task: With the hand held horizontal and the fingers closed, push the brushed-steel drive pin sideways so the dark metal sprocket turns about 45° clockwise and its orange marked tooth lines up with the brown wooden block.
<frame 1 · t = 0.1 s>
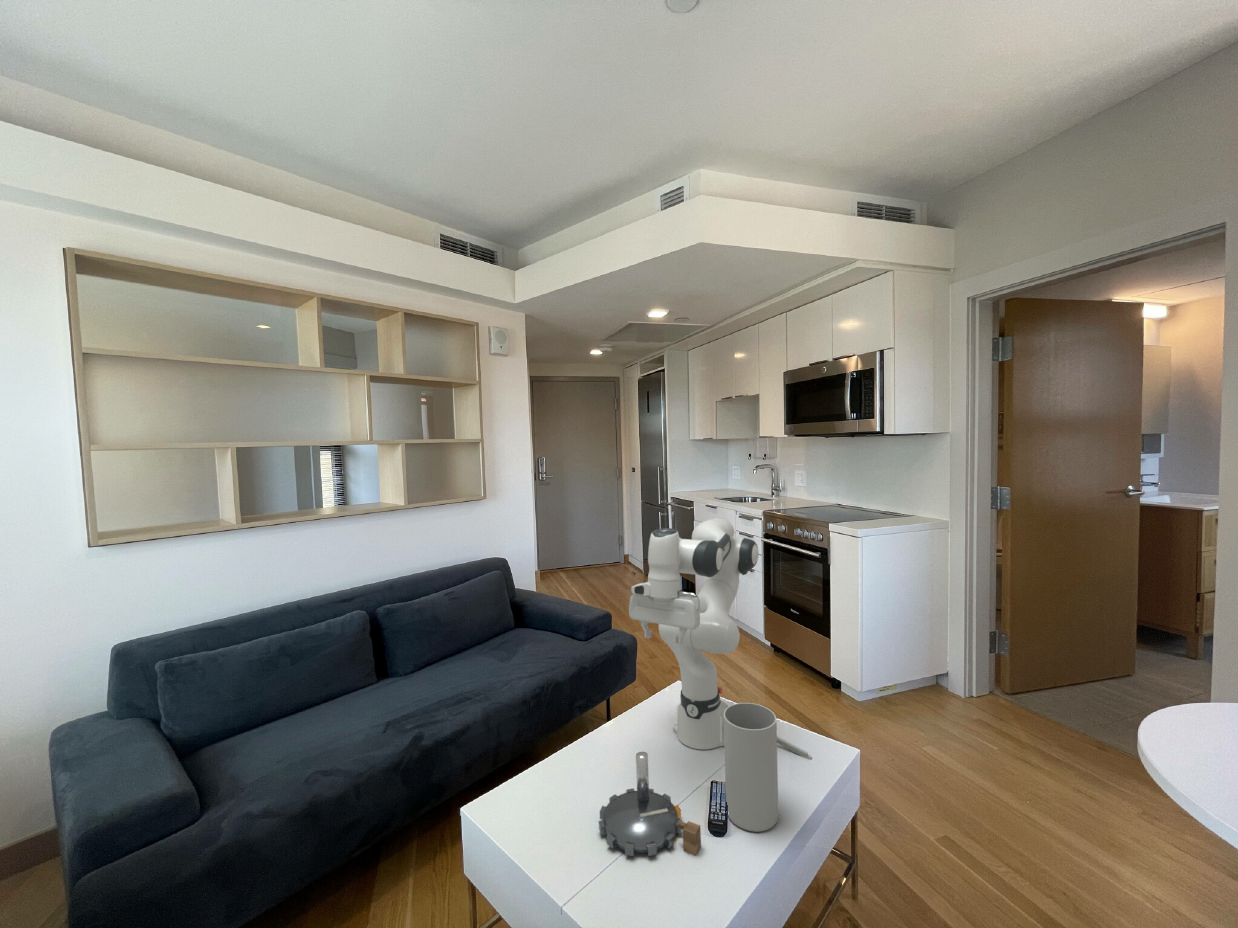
hand: (663, 640, 140), 39 cm above the table, tool pointing down, fingers open, 8 cm apart
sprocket: (639, 797, 125), point 7 cm above the table, hinge at 0.0°
brown wooden block: (692, 848, 118), on the table
cylinder vase: (752, 815, 128), on the table
caliper: (777, 747, 155), on the table
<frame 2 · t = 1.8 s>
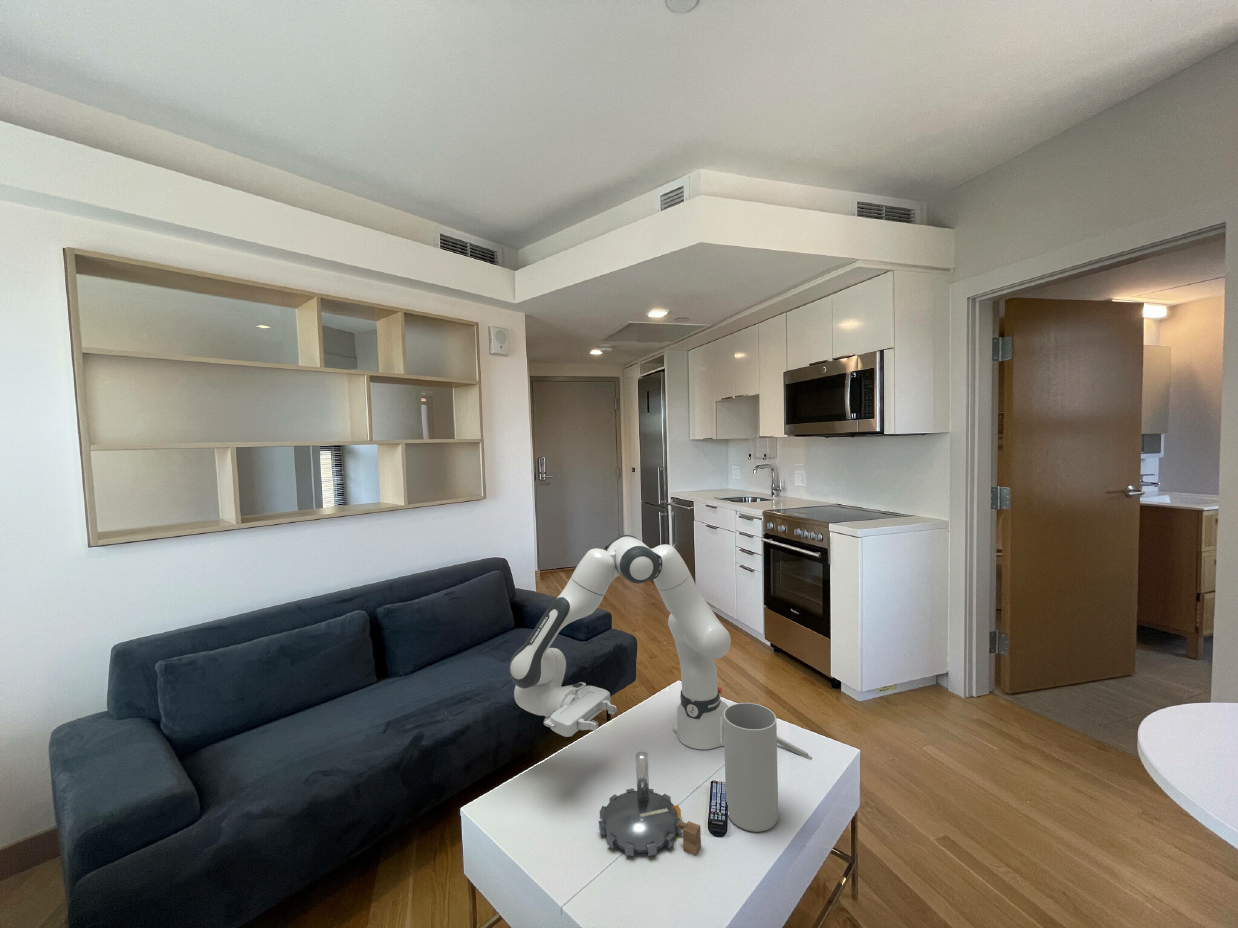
hand: (606, 718, 136), 21 cm above the table, tool horizontal, fingers open, 8 cm apart
nothing on the table moved.
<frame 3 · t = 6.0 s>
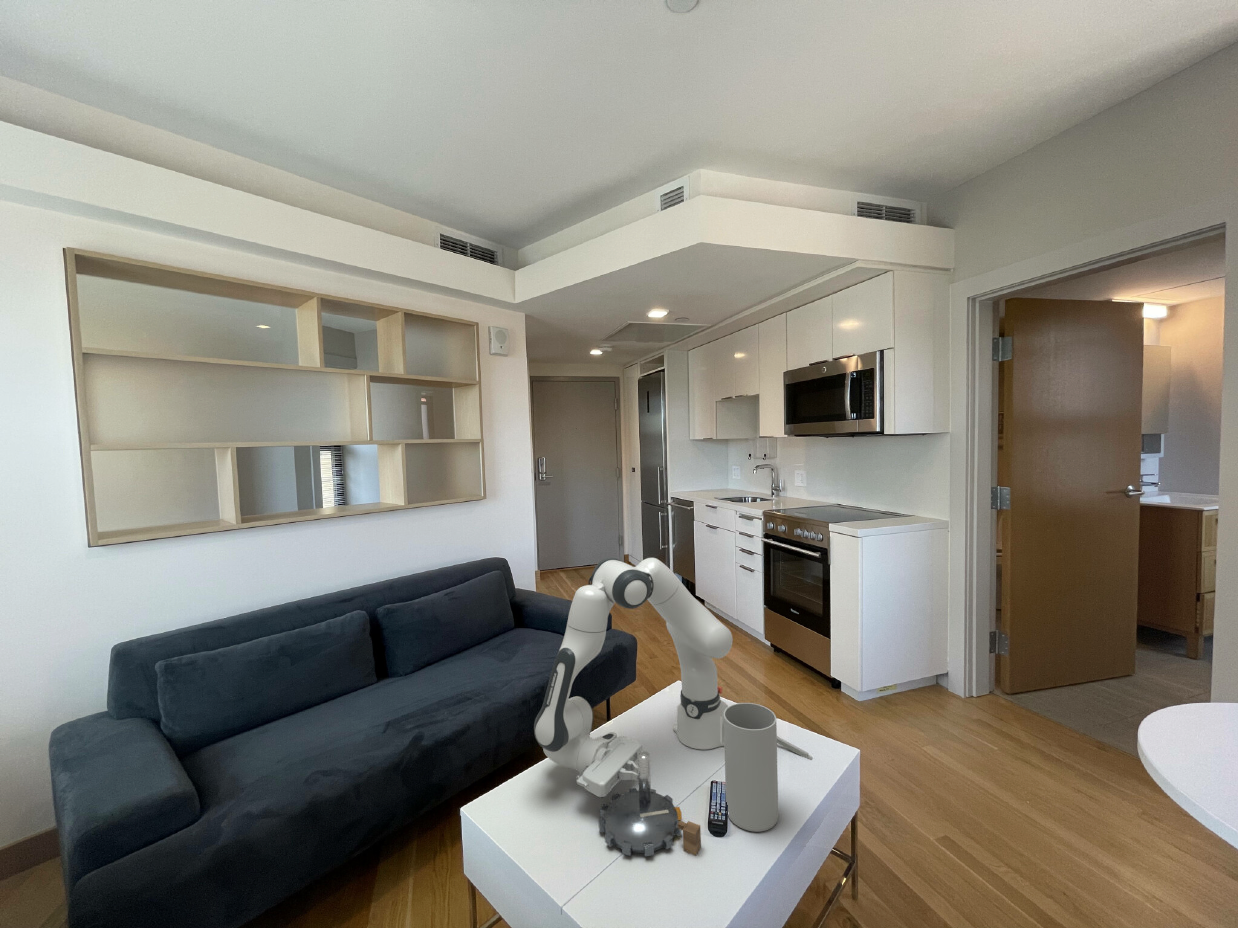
hand: (640, 774, 132), 8 cm above the table, tool horizontal, fingers closed, pressing on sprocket
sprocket: (639, 797, 125), point 7 cm above the table, hinge at 4.0°, touching gripper
everything else where it was.
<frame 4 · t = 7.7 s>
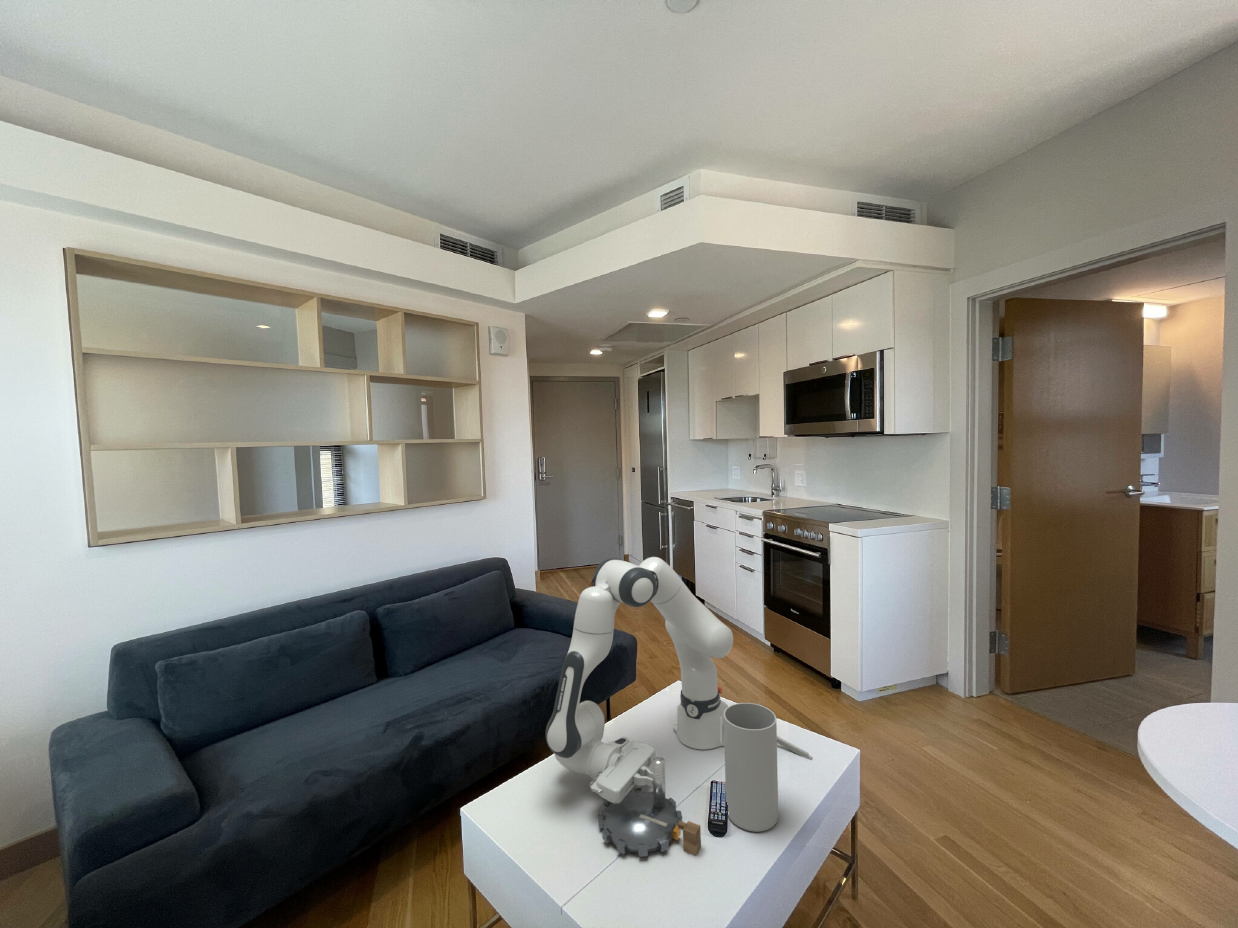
hand: (654, 780, 130), 8 cm above the table, tool horizontal, fingers closed, pressing on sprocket
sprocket: (639, 797, 125), point 7 cm above the table, hinge at 42.0°, touching gripper
everything else where it was.
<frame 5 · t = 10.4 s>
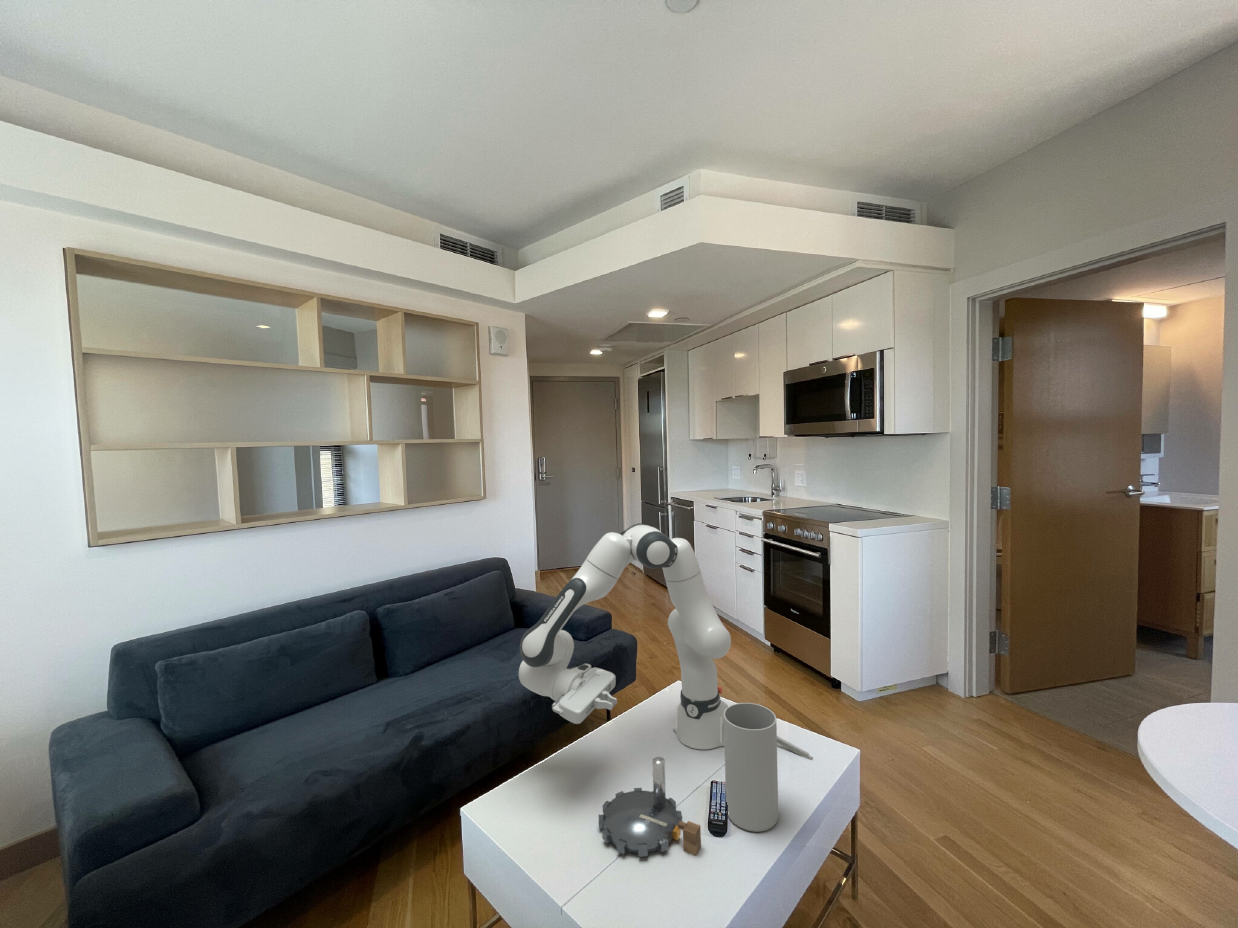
hand: (614, 704, 136), 24 cm above the table, tool horizontal, fingers closed
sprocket: (639, 797, 125), point 7 cm above the table, hinge at 42.2°
everything else where it was.
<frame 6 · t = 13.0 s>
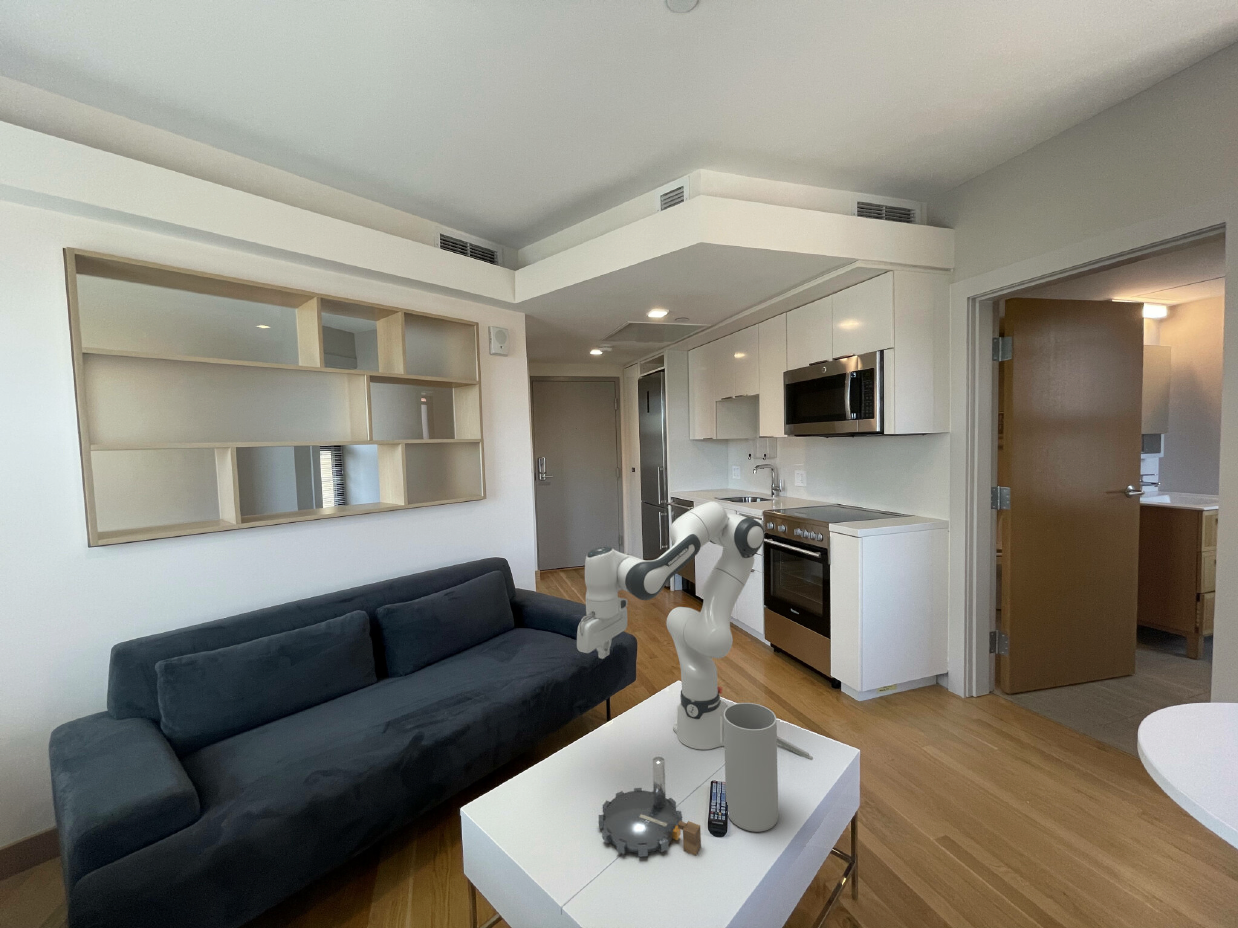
hand: (604, 656, 143), 34 cm above the table, tool pointing down, fingers closed
nothing on the table moved.
at the end: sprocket at +42° (first picture: +0°) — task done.
